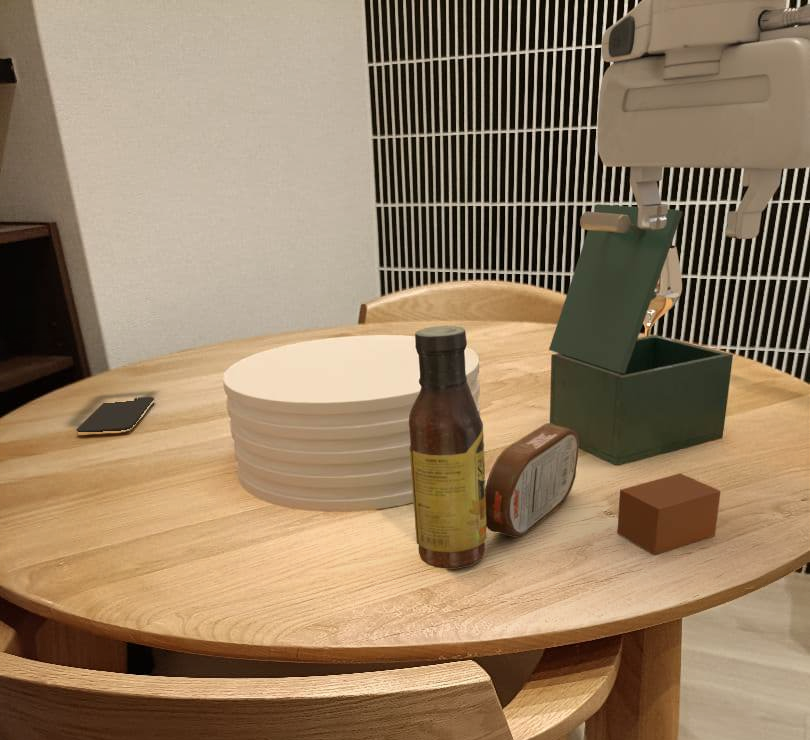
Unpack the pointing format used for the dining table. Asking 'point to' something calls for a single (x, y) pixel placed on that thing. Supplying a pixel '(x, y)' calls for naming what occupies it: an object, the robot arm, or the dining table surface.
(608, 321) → the bin lid
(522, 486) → the tin
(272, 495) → the plate stack
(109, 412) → the phone
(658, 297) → the wineglass
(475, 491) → the sauce bottle
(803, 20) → the robot arm
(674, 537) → the brown rectangular block
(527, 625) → the dining table surface
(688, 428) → the bin
